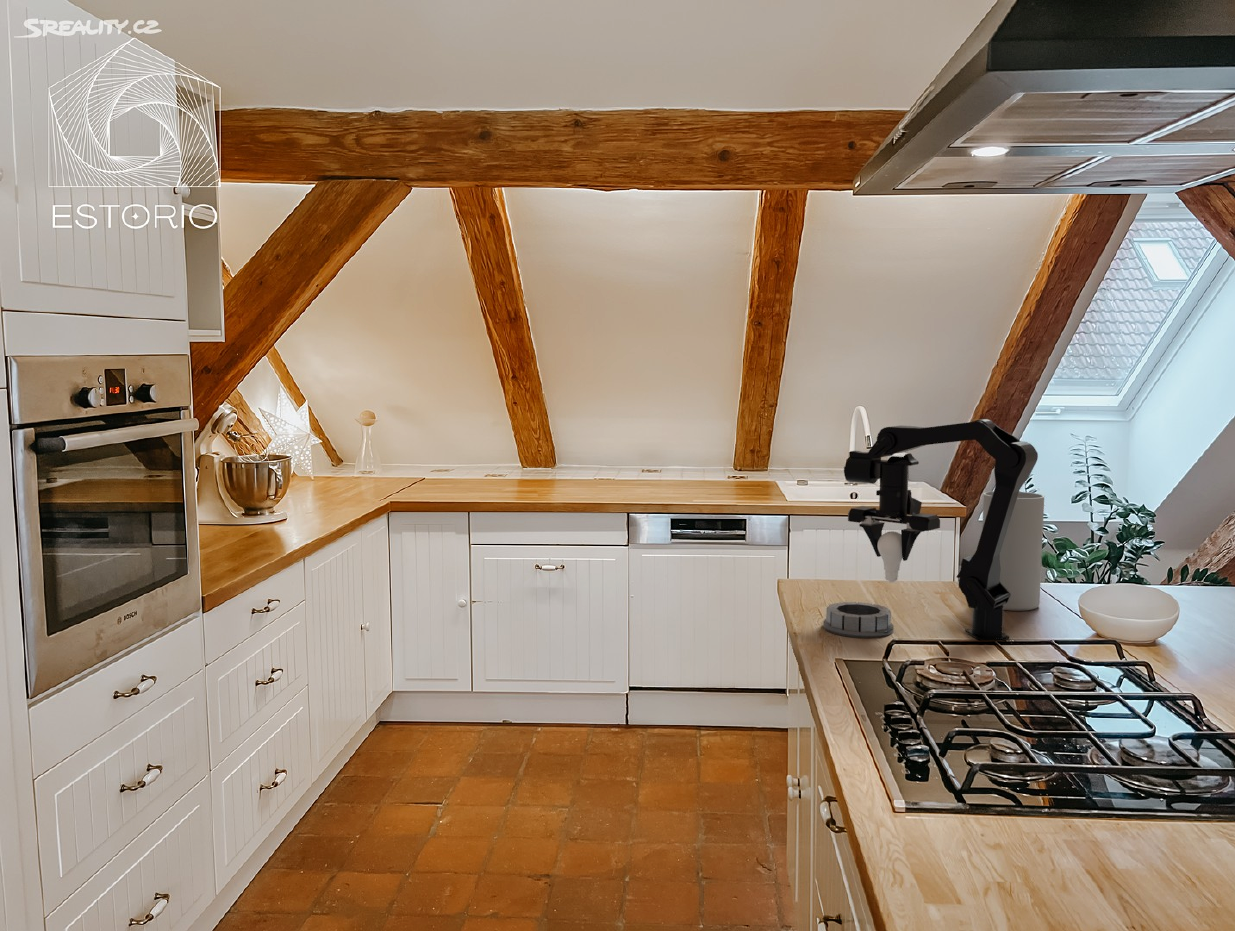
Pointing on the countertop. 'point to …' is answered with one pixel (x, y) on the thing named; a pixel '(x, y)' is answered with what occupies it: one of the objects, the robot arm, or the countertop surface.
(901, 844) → the countertop surface
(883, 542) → the lightbulb
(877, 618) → the socket
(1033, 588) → the cylinder vase
